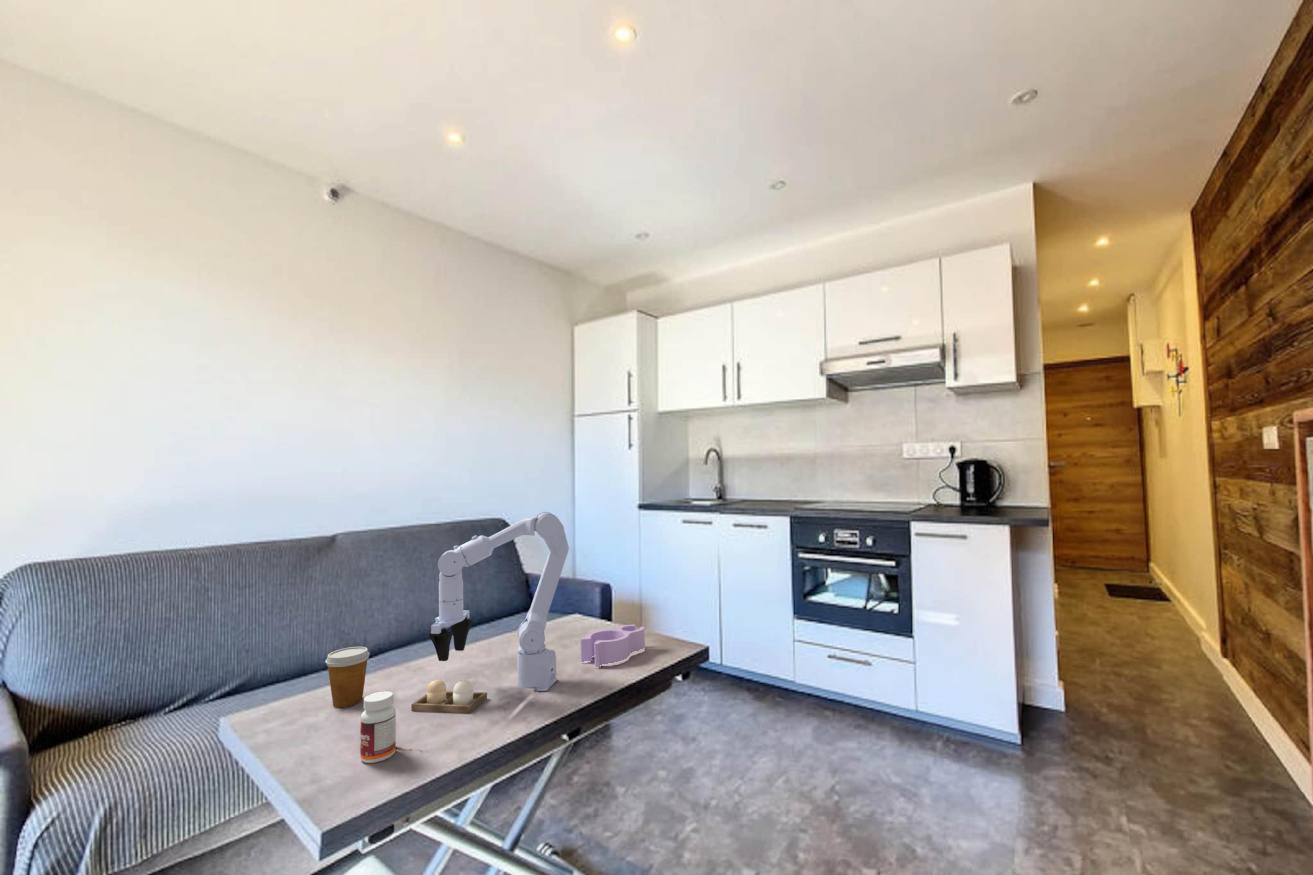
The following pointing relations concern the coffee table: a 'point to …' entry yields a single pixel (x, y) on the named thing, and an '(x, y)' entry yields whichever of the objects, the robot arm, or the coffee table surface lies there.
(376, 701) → the pill bottle
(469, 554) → the robot arm
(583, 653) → the clip
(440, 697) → the brown egg
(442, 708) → the egg crate
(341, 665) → the disposable coffee cup
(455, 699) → the cream egg
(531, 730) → the coffee table surface
